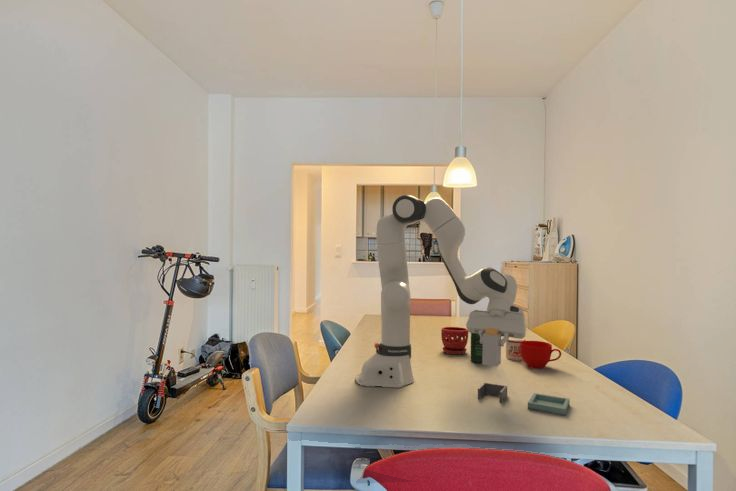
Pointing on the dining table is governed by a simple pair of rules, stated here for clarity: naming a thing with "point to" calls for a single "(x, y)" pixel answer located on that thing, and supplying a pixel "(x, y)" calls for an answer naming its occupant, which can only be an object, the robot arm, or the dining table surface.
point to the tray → (548, 404)
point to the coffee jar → (476, 348)
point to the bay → (493, 390)
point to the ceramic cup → (537, 353)
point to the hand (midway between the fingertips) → (491, 344)
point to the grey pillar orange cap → (491, 347)
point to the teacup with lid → (513, 348)
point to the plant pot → (454, 340)
